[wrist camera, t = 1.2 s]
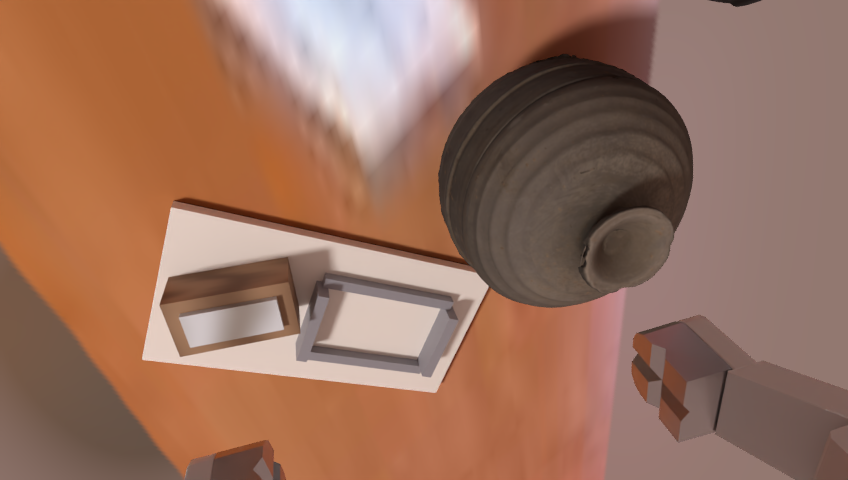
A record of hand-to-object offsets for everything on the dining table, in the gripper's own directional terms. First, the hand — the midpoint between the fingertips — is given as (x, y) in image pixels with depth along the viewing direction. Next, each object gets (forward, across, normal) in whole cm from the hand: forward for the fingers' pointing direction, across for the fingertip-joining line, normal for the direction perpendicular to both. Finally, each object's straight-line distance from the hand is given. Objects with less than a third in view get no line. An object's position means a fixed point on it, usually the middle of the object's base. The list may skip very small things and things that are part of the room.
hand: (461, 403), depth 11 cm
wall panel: (+35, +6, +22) cm, 41 cm away
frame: (+33, +13, +16) cm, 40 cm away
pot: (+35, -14, +9) cm, 39 cm away
